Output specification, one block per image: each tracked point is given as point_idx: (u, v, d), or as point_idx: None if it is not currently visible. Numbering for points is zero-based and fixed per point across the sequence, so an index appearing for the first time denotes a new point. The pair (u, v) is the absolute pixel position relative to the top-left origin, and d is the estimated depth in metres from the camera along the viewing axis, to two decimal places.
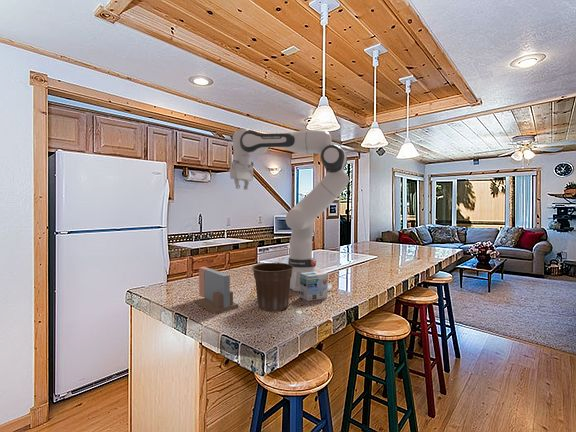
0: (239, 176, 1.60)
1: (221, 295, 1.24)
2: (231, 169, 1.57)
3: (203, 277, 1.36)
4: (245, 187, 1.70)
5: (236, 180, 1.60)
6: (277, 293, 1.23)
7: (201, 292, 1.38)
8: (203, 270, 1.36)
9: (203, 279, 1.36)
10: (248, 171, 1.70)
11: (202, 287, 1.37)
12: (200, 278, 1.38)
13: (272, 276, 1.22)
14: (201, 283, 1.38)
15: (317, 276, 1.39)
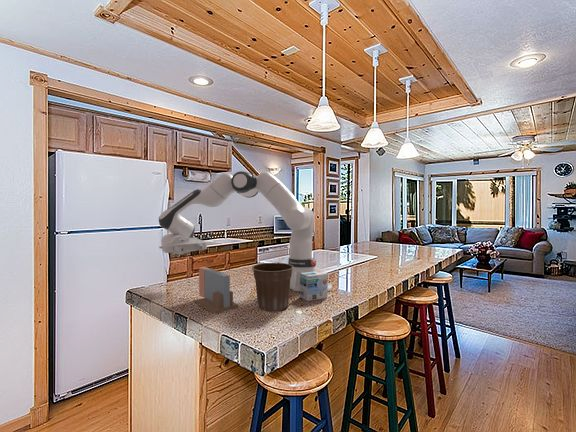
0: (172, 244, 1.47)
1: (221, 295, 1.24)
2: (162, 250, 1.48)
3: (203, 277, 1.36)
4: (199, 247, 1.50)
5: (174, 248, 1.46)
6: (277, 293, 1.23)
7: (201, 292, 1.38)
8: (203, 270, 1.36)
9: (203, 279, 1.36)
10: (193, 242, 1.57)
11: (202, 287, 1.37)
12: (200, 278, 1.38)
13: (272, 276, 1.22)
14: (201, 283, 1.38)
15: (317, 276, 1.39)
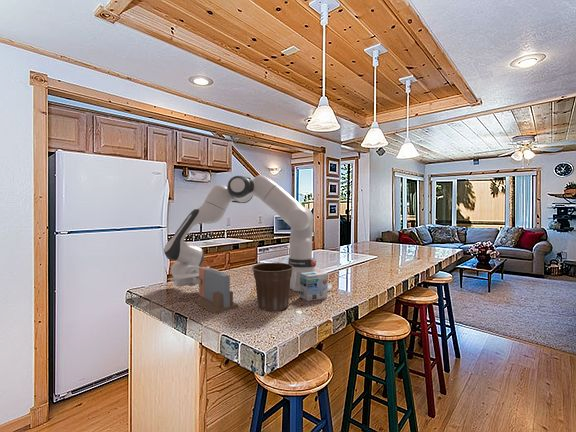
0: (184, 276, 1.38)
1: (221, 295, 1.24)
2: (174, 282, 1.38)
3: (203, 277, 1.36)
4: None
5: (192, 280, 1.38)
6: (277, 293, 1.23)
7: (201, 292, 1.38)
8: (203, 270, 1.36)
9: (203, 279, 1.36)
10: None
11: (202, 287, 1.37)
12: (200, 278, 1.38)
13: (272, 276, 1.21)
14: None
15: (317, 276, 1.39)
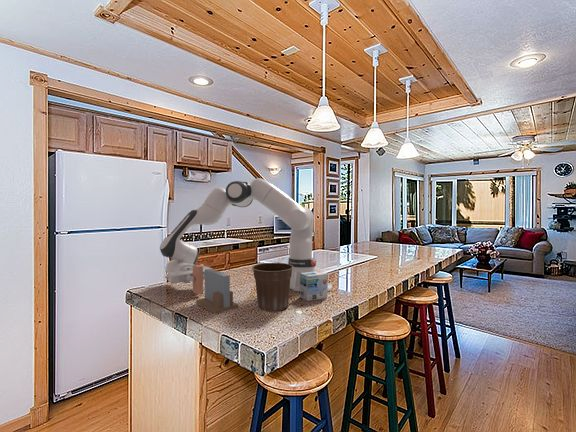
0: (178, 274, 1.43)
1: (221, 295, 1.24)
2: (168, 280, 1.43)
3: (196, 275, 1.41)
4: None
5: (186, 277, 1.43)
6: (277, 292, 1.23)
7: (195, 288, 1.43)
8: (196, 268, 1.41)
9: (196, 276, 1.41)
10: None
11: (195, 284, 1.42)
12: (194, 275, 1.43)
13: (272, 276, 1.22)
14: None
15: (317, 276, 1.39)
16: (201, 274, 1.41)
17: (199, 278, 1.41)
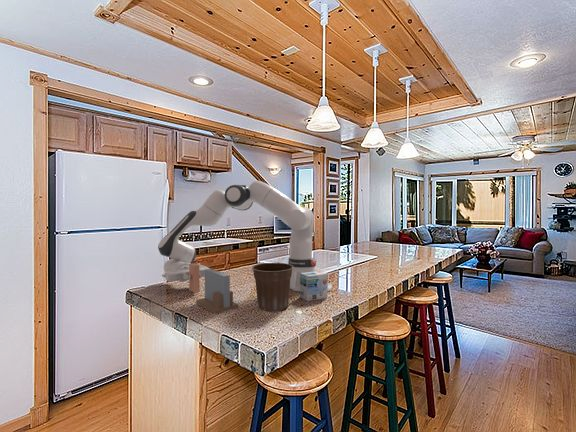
0: (175, 272, 1.45)
1: (221, 295, 1.24)
2: (165, 278, 1.46)
3: (192, 273, 1.44)
4: None
5: (183, 276, 1.46)
6: (277, 293, 1.23)
7: (191, 287, 1.45)
8: (193, 266, 1.43)
9: (193, 275, 1.44)
10: None
11: (192, 283, 1.45)
12: (190, 274, 1.46)
13: (272, 276, 1.21)
14: None
15: (317, 276, 1.39)
16: (197, 273, 1.44)
17: (196, 277, 1.44)
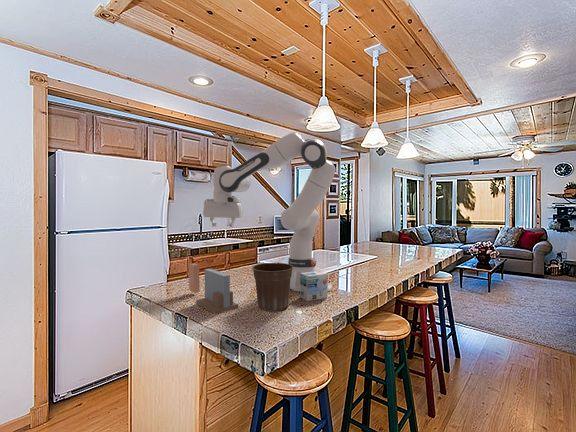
0: (209, 214, 1.62)
1: (221, 295, 1.24)
2: None
3: (192, 273, 1.44)
4: None
5: None
6: (277, 293, 1.23)
7: (191, 287, 1.45)
8: (193, 266, 1.44)
9: (193, 275, 1.44)
10: (230, 207, 1.59)
11: (192, 283, 1.45)
12: (190, 274, 1.46)
13: (272, 276, 1.22)
14: (191, 278, 1.45)
15: (317, 276, 1.39)
16: (197, 273, 1.44)
17: (196, 277, 1.44)
